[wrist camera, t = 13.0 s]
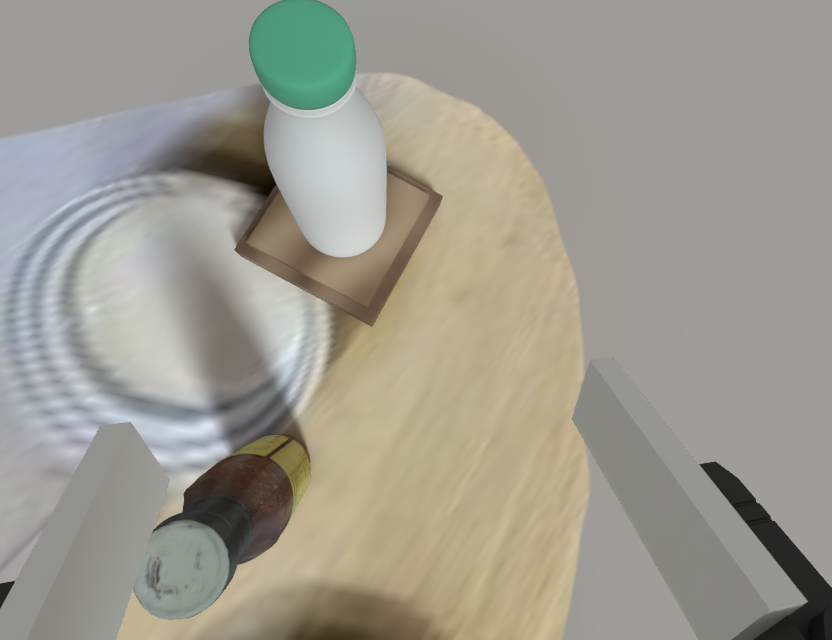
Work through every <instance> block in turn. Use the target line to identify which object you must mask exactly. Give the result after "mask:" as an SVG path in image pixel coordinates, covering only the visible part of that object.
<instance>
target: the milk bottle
mask: <svg viewBox="0 0 832 640" xmlns="http://www.w3.org/2000/svg"><path fill="white" fill-rule="evenodd" d="M249 50H250V56H251V60H252V62H253V65H254V68H255V71H256V73H257V76H258V77H259V80H260V82H261V85H262V88H263V90H264V92H265V94H266V96H267V97H268V99H269V100H270V105H269V108H268V111H267V114H266V118H265V124H264V148H265V153H266V157H267V161H268V165H269V168H270V170H271V173H272V175H273V177H274V180H275V182H276V184H277V186H278V188H279V190H280V192H281V194H282V196H283V198H284V200H285V202H286V204H287V206H288V208H289V210H290V211H291V213H292V215H293V217H294V219H295V221H296V223H297V225H298V226H299V228H300V230H301V232H302V233H303V235H304V237H305V238H306V240H307V241H308V242H309V243H310V244H311V245H312V246H313V247H314V248H315V249H317V250H318V251H320V252H322V253H324V254H326V255H329V256H333V257H352V256H356V255H359V254H361V253H363V252H365V251H367V250H368V249H370V248H371V247H372V246H373V245H374V244H375V243H376V242H377V241H378V239H379V238H380V236H381V234H382V232H383V230H384V226H385V221H386V202H387V156H386V143H385V138H384V133H383V130H382V126H381V124H380V121H379V119H378V116H377V115H376V113H375V111H374V109H373V107H372V106H371V104H370V103H369V102H368V100H367V99H366V98H365V97H364V95H363V94H362V93H361V92H360V91H359V90H358V89H357V87H356V84H357V68H356V51H355V44H354V39H353V36H352V33H351V31H350V29H349V26H348V25H347V23H346V21H345V20H344V18H343V17H342V16H341V15H340V14H339V13H338V12H337V11H336V10H334V9H333V8H331V7H330V6H328V5H326V4H324V3H322V2H319V1H317V0H283V1H280V2H277V3H275V4H273V5H271V6H269V7H268V8H267V9H265V10H264V11H263V12H262V13H261V14H260V15H259V16H258V18H257V19H256V20H255V22H254V24H253V26H252V29H251V32H250V38H249Z"/></svg>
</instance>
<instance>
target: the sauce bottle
mask: <svg viewBox="0 0 832 640" xmlns="http://www.w3.org/2000/svg"><path fill="white" fill-rule="evenodd" d="M310 477H311V467H310V457H309V454H308V453H307V451H306V450H305V448H304V447H303V446H302V445H301V444H300V443H299V442H298V441H296V440H295V439H294V438H293V437H291V436H287V435H268V436H264V437H261V438H259V439H257V440H255V441H253V442H252V443H250V444H248V445H247V446H245V447H243V448H242V449H240V450H238V451H237V452H235V453H233V454H231V455H230V456H228V457H226V458H225V459H223V460H221V461H220V462H218V463H217V464H215V465H214V466H213V467H212V468H211V469H209V470H208V471H207V472H206V473H204V474H203V475H201V476H200V477H199V478H198V479H197V480H196V481H195V482H194V483H193V484H192V485H191V486H190V487H189V488H187V489H186V491H185V492H184V506H183V512H182V513H179V514H177V515H174V516H172V517H170V518H168V519H166V520H165V521H163V522H162V523H161V524H159V525H158V526H157V527H156V528H155V529H154V530H153V532H152V534H151V537H150V540H149V543H148V546H147V549H146V552H145V555H144V558H143V561H142V564H141V567H140V570H139V573H138V576H137V579H136V581H135V584H134V587H133V589H134V592H135V595H136V597H137V598H138V600H139V602H140V603H141V605H142V607H144V608H145V609H146V610H148V612H149V613H150V614H152V615H154V616H156V617H159V618H162V619H168V620H175V619H183V618H190V617H192V616H195V615H197V614H199V613H200V612H202V611H204V610H205V609H207V608H208V607H209V606H211V605H212V604H213V603H214V602H215V601H216V600H217V598H218V597H219V596H220V595H221V594H222V592H223V591H224V590H225V589H226V587H227V586H228V584H229V583H230V581H231V579H232V578H233V575H234V573H235V571H236V567H237V565H238V564H242V563H245V562H248V561H250V560H252V559H254V558H256V557H258V556H259V555H261V554H262V553H264V552H265V551H266V550H268V549H269V548H270V547H272V546H273V545H274V544H275V543H276V542H277V540H278V539H279V537H280V535H281V533H282V532H283V530H284V529H285V527H286V526H287V524H288V522H289V521H290V519H291V517H292V515H293V513H294V511H295V509H296V507H297V505H298V503H299V501H300V499H301V498H302V496H303V494H304V492H305V490H306V488H307V486H308V484H309V480H310Z"/></svg>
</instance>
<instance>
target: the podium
mask: <svg viewBox="0 0 832 640" xmlns="http://www.w3.org/2000/svg"><path fill="white" fill-rule="evenodd" d="M442 197H443V196H442V195H440V194H438V193H436V192H434V191H432V190H430V189H429V188H427V187H425V186H423V185H421V184H419V183H417V182H416V181H414V180H412V179H410V178H408V177H406V176H404V175H403V174H401V173H399V172H397V171H395V170H393V169H391V168H390V167H388V166H387V202H386V221H385V226H384V230H383V232H382V234H381V236H380V238H379V239H378V241H377V242H376V243H375V244H374V245H373V246H372V247H371V248H370V249H368V250H367V251H365V252H363V253H361V254H359V255H356V256H352V257H333V256H329V255H326V254H324V253H322V252H320V251H318V250H317V249H315V248H314V247H313V246H312V245H311V244H310V243H309V242H308V241H307V240H306V238H305V237H304V235H303V233H302V232H301V230H300V228H299V226H298V225H297V223H296V221H295V219H294V217H293V215H292V213H291V211H290V210H289V208H288V206H287V204H286V202H285V200H284V198H283V196H282V194H281V192H280V190H279V188H278V186H277V184H276V186H275V187H274V189H273V190H272V192H271V193H270V195H269V197H268V198H267V200H266V201H265V203H264V204H263V206H262V207H261V209H260V211H259V212H258V214H257V215H256V217H255V218H254V220H253V221H252V223H251V225H250V226H249V228H248V229H247V231H246V232H245V234H244V235H243V237H242V239H241V240H240V242H239V243H238V245H237V246H236V248H235V249H234V250H235V251H236V252H237V253H238V254H239V255H240V256H242V257H243V258H245V259H247V260H249V261H251V262H253V263H255V264H256V265H258V266H260V267H262V268H264V269H266V270H268V271H269V272H271V273H273V274H275V275H277V276H279V277H281V278H282V279H284V280H286V281H288V282H290V283H292V284H294V285H295V286H297V287H299V288H301V289H303V290H305V291H307V292H309V293H310V294H312V295H314V296H316V297H318V298H320V299H322V300H323V301H325V302H327V303H329V304H331V305H333V306H335V307H336V308H338V309H340V310H342V311H344V312H346V313H348V314H349V315H351V316H353V317H355V318H357V319H359V320H361V321H362V322H364V323H366V324H368V325H370V326H373V324H374V323H375V321H376V319H377V317H378V315H379V314H380V312H381V310H382V308H383V306H384V305H385V303H386V301H387V299H388V297H389V296H390V294H391V292H392V290H393V288H394V287H395V285H396V283H397V281H398V279H399V278H400V276H401V274H402V272H403V270H404V269H405V267H406V265H407V263H408V261H409V260H410V258H411V256H412V254H413V252H414V251H415V249H416V247H417V245H418V243H419V242H420V240H421V238H422V236H423V234H424V233H425V231H426V229H427V227H428V225H429V224H430V222H431V220H432V218H433V216H434V215H435V213H436V211H437V209H438V207H439V206H440V203H441V200H442Z"/></svg>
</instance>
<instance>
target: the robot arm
mask: <svg viewBox="0 0 832 640" xmlns="http://www.w3.org/2000/svg"><path fill="white" fill-rule="evenodd" d="M572 420H573V422H574V424H575V425H576V427H577V429H578V431H579V432H580V434H581V436H582V438H583V439H584V441H585V443H586V444H587V446H588V448H589V450H590V451H591V453H592V455H593V457H594V458H595V460H596V462H597V464H598V465H599V467H600V469H601V471H602V472H603V474H604V476H605V477H606V479H607V481H608V483H609V484H610V486H611V488H612V489H613V491H614V493H615V495H616V497H617V498H618V500H619V502H620V504H621V505H622V507H623V509H624V510H625V512H626V514H627V516H628V518H629V519H630V521H631V522H632V524H633V526H634V528H635V530H636V531H637V533H638V535H639V536H640V538H641V540H642V542H643V543H644V545H645V547H646V549H647V551H648V552H649V554H650V556H651V557H652V559H653V561H654V563H655V564H656V566H657V568H658V570H659V571H660V573H661V575H662V577H663V578H664V580H665V582H666V584H667V585H668V587H669V589H670V591H671V592H672V594H673V596H674V597H675V599H676V601H677V603H678V604H679V606H680V608H681V609H682V611H683V613H684V615H685V616H686V618H687V620H688V622H689V623H690V625H691V627H692V629H693V630H694V632H695V634H696V636H697V637H698V639H699V640H832V588H831V586H830V585H829V584H828V583H827V582H826V581H825V580H824V578H823V577H822V576H821V575H820V574H819V573H818V571H817V570H816V569H815V568H814V567H813V566H812V564H811V563H810V562H809V561H808V560H807V559H806V557H805V556H804V555H803V554H802V553H801V552H800V550H799V549H798V548H797V547H796V546H795V544H794V543H793V542H792V541H791V540H790V539H789V537H788V536H787V535H786V534H785V533H784V532H783V531H782V529H781V528H780V527H779V526H778V525H777V523H776V522H775V521H772V520H771V518H770V515H769V514H768V513H767V512H766V511H765V509H764V508H763V507H762V506H761V505H760V504H758V503H757V502H756V499H755V498H754V496H753V495H752V494H751V493H750V492H749V491H748V489H747V488H746V487H745V486H744V485H743V484H742V483H741V481H740V480H739V479H738V478H737V477H735V476H734V475H733V474H731V473H730V472H729V471H727V470H726V469H725V468H723V467H722V466H721V465H719V464H718V463H717V462H710V463H704V464H698V462H697V461H696V460H695V459H694V457H693V456H692V455H691V454H690V452H689V451H688V450H687V449H686V447H685V446H684V445H683V444H682V442H681V441H680V440H679V439H678V437H677V436H676V435H675V433H674V432H673V431H672V430H671V428H670V427H669V426H668V425H667V423H666V422H665V421H664V420H663V419H662V417H661V416H660V415H659V413H658V412H657V411H656V410H655V408H654V407H653V406H652V405H651V403H650V402H649V401H648V399H647V398H646V397H645V396H644V394H643V393H642V392H641V391H640V390H639V388H638V387H637V386H636V384H635V383H634V382H633V381H632V379H631V378H630V377H629V376H628V374H627V373H626V372H625V371H624V369H623V368H622V367H621V366H620V364H619V363H618V362H617V361H616V359H615V358H614V357H608V358H601V359H593V360H590V361H589V365H588V368H587V371H586V374H585V378H584V381H583V384H582V387H581V391H580V394H579V397H578V401H577V404H576V407H575V410H574V414H573V417H572ZM169 482H170V479H169V477H168V476H167V474H166V473H165V471H164V470H163V468H162V467H161V465H160V464H159V463H158V461H157V460H156V458H155V457H154V455H153V454H152V452H151V451H150V449H149V448H148V446H147V445H146V444H145V442H144V441H143V439H142V438H141V436H140V435H139V433H138V432H137V430H136V429H135V427H134V426H133V425H132V423H131V422H128V423H120V424H113V425H106V426H100V428H99V430H98V431H97V433H96V435H95V437H94V439H93V441H92V442H91V444H90V446H89V448H88V450H87V452H86V453H85V455H84V457H83V459H82V461H81V462H80V464H79V466H78V468H77V470H76V472H75V473H74V475H73V477H72V479H71V481H70V483H69V484H68V486H67V488H66V490H65V492H64V493H63V495H62V497H61V499H60V501H59V503H58V504H57V506H56V508H55V510H54V512H53V514H52V515H51V517H50V519H49V521H48V523H47V525H46V526H45V528H44V530H43V532H42V534H41V535H40V537H39V539H38V541H37V543H36V545H35V546H34V548H33V550H32V552H31V554H30V556H29V557H28V559H27V561H26V563H25V565H24V566H23V568H22V570H21V572H20V574H19V576H18V577H17V579H16V581H13V582H7V583H1V584H0V640H116V637H117V634H118V631H119V628H120V626H121V623H122V620H123V617H124V614H125V611H126V608H127V605H128V602H129V599H130V596H131V593H132V590H133V587H134V584H135V581H136V579H137V576H138V573H139V570H140V567H141V564H142V561H143V558H144V555H145V552H146V549H147V546H148V543H149V540H150V537H151V534H152V532H153V529H154V526H155V523H156V520H157V517H158V514H159V511H160V508H161V505H162V502H163V499H164V496H165V493H166V490H167V487H168V485H169Z"/></svg>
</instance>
